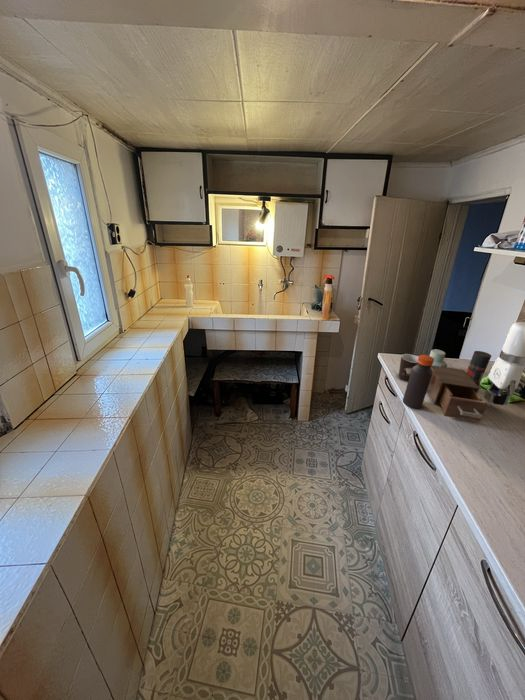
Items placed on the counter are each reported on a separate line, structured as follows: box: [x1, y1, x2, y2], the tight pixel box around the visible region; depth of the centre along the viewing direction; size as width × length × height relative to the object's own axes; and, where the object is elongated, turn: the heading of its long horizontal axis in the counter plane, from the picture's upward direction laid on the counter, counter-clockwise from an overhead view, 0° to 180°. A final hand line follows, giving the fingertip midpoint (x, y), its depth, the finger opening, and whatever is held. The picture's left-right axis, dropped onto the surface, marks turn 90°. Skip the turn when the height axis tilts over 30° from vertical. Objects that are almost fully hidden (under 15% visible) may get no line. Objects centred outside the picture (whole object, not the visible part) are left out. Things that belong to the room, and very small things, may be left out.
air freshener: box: [429, 348, 448, 368], centre depth 133 cm, size 11×8×10 cm
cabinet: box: [427, 366, 480, 406], centre depth 113 cm, size 15×13×10 cm
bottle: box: [402, 354, 434, 409], centre depth 105 cm, size 7×7×20 cm
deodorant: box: [465, 350, 492, 387], centre depth 121 cm, size 6×6×15 cm
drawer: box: [438, 385, 489, 423], centre depth 102 cm, size 18×11×8 cm, turn 166°
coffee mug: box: [398, 353, 419, 383], centre depth 124 cm, size 12×9×10 cm
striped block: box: [483, 388, 511, 406], centre depth 106 cm, size 6×4×4 cm
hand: (495, 400), depth 106 cm, fingers closed on striped block, 4 cm apart
